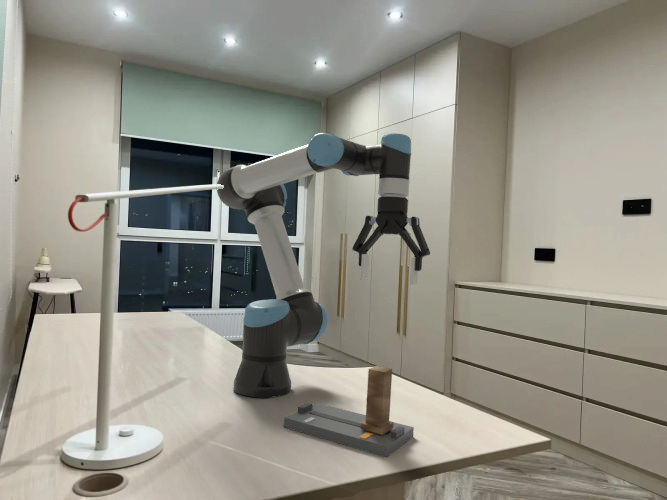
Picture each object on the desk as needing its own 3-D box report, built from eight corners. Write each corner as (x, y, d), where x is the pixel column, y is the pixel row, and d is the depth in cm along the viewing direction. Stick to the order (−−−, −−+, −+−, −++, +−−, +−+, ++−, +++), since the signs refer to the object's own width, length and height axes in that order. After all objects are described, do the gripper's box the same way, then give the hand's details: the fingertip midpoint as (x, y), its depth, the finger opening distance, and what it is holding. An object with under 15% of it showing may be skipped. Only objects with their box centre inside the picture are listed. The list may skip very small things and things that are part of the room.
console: (284, 426, 108) (284, 412, 108) (317, 411, 119) (318, 397, 119) (386, 457, 95) (387, 440, 95) (413, 436, 106) (414, 421, 106)
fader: (360, 429, 103) (363, 369, 103) (371, 422, 107) (375, 364, 107) (382, 435, 100) (386, 373, 100) (393, 427, 104) (396, 368, 104)
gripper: (446, 198, 124) (441, 285, 124) (356, 198, 136) (352, 277, 137) (435, 195, 117) (430, 287, 117) (342, 195, 130) (337, 278, 130)
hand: (388, 282), depth 127 cm, fingers open, 13 cm apart
